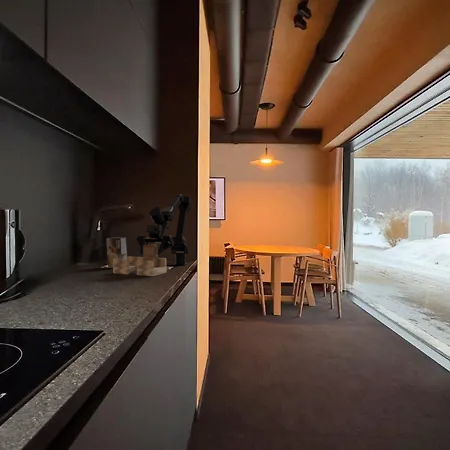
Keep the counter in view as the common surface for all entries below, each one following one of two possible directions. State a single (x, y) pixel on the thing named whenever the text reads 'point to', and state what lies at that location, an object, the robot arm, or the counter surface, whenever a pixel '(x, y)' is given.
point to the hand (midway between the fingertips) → (149, 254)
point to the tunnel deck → (139, 266)
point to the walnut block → (151, 253)
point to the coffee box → (116, 249)
